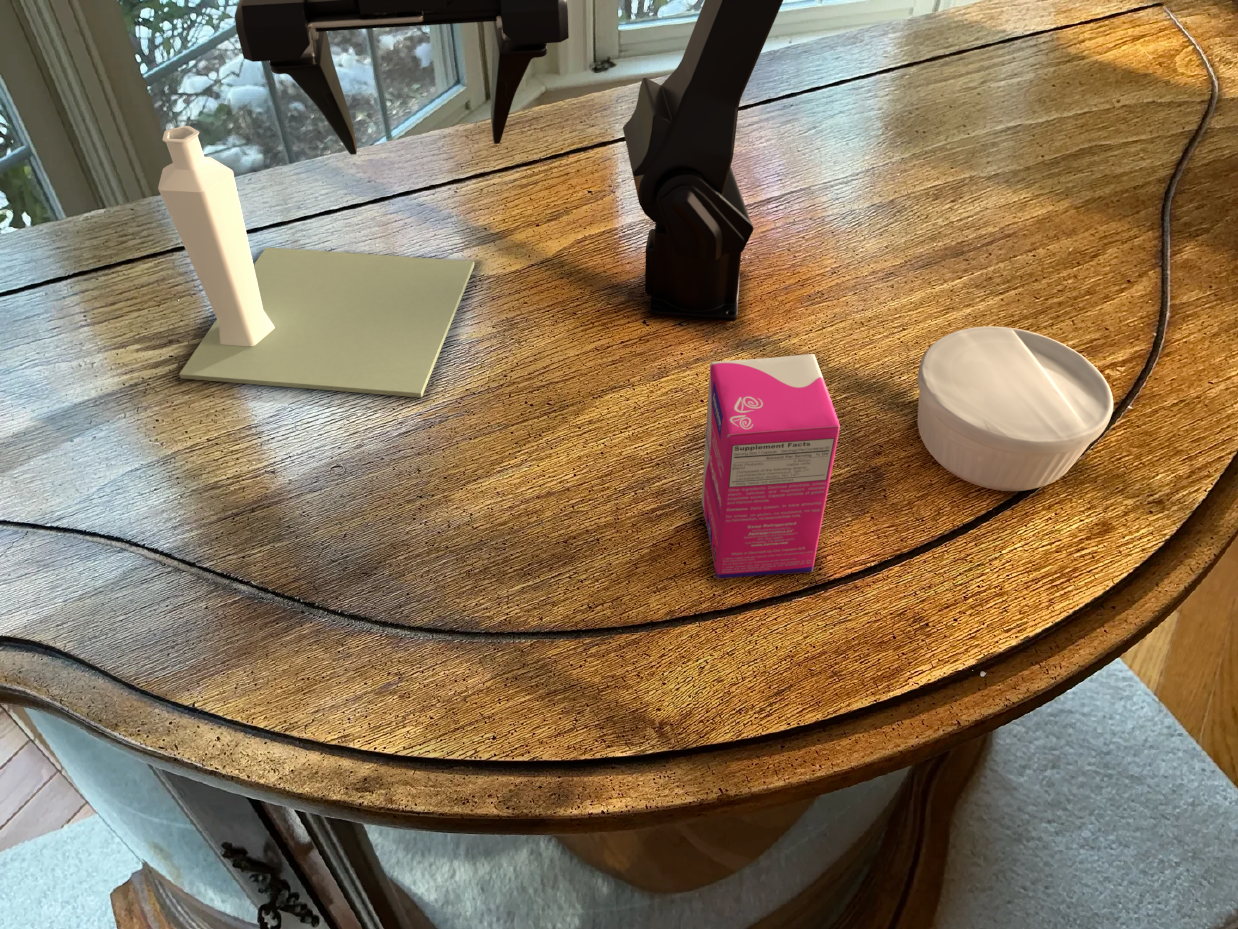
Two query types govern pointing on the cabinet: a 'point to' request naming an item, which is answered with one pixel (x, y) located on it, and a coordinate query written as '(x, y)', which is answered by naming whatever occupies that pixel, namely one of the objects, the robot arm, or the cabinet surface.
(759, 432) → the supplement box
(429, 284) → the mat
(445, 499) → the cabinet surface
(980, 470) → the ramekin
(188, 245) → the beige vase
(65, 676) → the cabinet surface
